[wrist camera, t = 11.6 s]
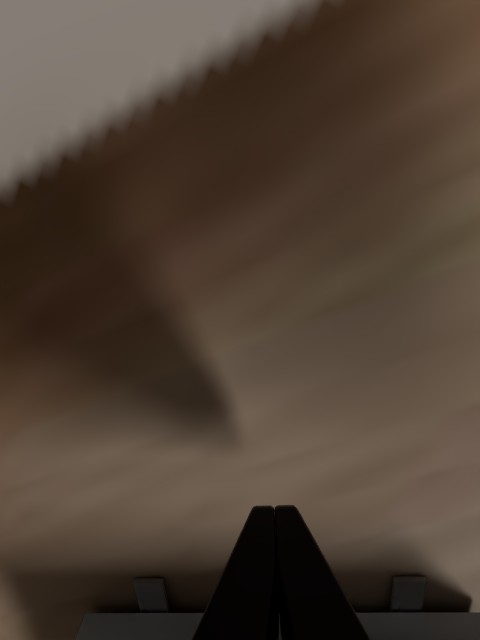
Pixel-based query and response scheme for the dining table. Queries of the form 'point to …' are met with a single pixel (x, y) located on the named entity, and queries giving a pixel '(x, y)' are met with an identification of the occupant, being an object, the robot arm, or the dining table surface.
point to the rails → (403, 600)
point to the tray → (178, 628)
